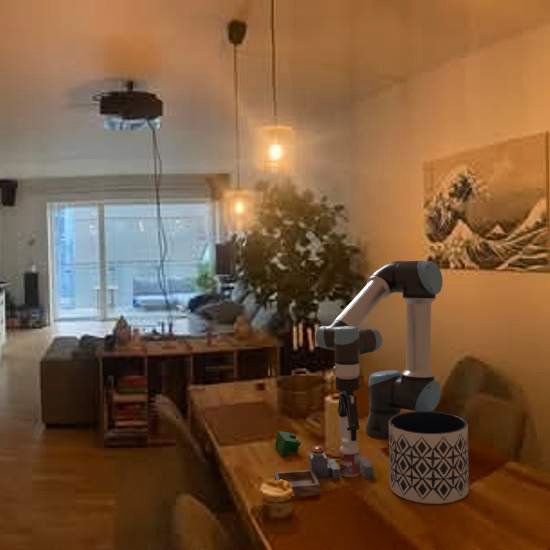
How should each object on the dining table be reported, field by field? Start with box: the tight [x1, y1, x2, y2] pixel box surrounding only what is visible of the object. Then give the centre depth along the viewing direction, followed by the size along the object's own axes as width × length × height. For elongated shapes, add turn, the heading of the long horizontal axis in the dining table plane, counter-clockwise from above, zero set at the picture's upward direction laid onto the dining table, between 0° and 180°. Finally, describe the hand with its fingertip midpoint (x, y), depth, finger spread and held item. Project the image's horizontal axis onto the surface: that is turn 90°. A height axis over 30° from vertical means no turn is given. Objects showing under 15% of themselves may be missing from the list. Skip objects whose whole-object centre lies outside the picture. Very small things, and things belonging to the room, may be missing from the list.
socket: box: [308, 452, 374, 482], centre depth 200 cm, size 19×9×6 cm, turn 96°
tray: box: [273, 469, 321, 497], centre depth 191 cm, size 12×12×3 cm
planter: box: [388, 410, 470, 505], centre depth 186 cm, size 22×22×20 cm
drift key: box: [310, 445, 325, 458], centre depth 200 cm, size 4×4×7 cm
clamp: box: [274, 430, 302, 457], centre depth 224 cm, size 12×6×9 cm, turn 7°
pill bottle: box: [339, 437, 361, 478], centre depth 201 cm, size 6×6×11 cm
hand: (348, 443), depth 200 cm, fingers open, 13 cm apart
